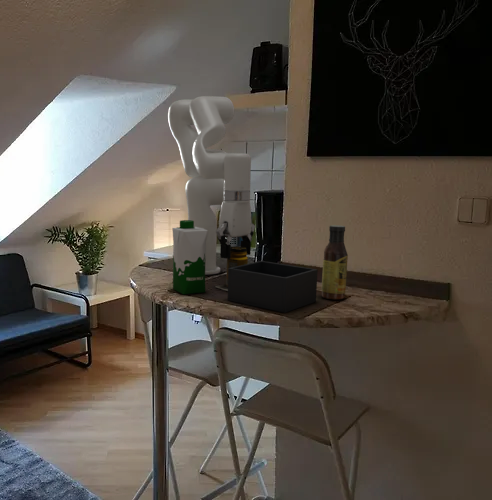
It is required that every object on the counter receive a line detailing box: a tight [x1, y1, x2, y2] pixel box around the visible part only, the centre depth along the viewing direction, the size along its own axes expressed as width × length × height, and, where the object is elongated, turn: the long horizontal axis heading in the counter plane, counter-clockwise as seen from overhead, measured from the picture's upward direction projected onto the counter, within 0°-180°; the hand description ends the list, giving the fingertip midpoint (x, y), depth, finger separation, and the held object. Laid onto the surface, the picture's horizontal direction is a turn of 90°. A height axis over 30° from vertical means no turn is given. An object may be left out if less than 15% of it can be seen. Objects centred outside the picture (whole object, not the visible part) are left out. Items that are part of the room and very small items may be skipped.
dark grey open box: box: [227, 260, 319, 314], centre depth 155 cm, size 18×16×9 cm
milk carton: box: [172, 219, 208, 295], centre depth 165 cm, size 9×9×20 cm
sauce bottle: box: [321, 224, 349, 301], centre depth 158 cm, size 6×6×20 cm
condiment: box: [215, 246, 249, 292], centre depth 169 cm, size 7×8×12 cm
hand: (235, 256), depth 168 cm, fingers open, 9 cm apart
